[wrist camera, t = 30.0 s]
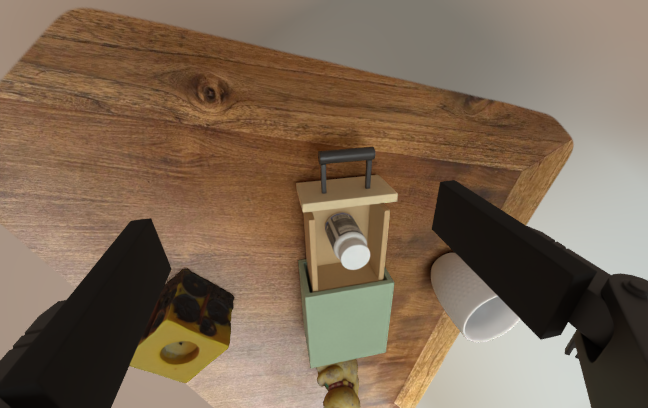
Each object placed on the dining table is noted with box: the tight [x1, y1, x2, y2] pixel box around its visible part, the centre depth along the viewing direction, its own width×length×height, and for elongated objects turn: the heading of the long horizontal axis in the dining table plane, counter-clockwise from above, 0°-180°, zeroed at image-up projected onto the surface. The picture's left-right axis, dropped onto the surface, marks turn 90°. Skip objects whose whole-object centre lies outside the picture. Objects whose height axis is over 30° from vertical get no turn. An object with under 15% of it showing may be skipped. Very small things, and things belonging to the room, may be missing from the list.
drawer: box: [296, 147, 398, 292], centre depth 39 cm, size 21×12×7 cm, turn 2°
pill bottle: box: [325, 212, 370, 270], centre depth 39 cm, size 5×5×8 cm
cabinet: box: [298, 259, 394, 368], centre depth 48 cm, size 17×14×9 cm
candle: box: [129, 269, 234, 383], centre depth 41 cm, size 10×10×10 cm
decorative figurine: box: [316, 359, 360, 408], centre depth 53 cm, size 10×8×15 cm
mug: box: [431, 253, 520, 342], centre depth 48 cm, size 15×11×13 cm
